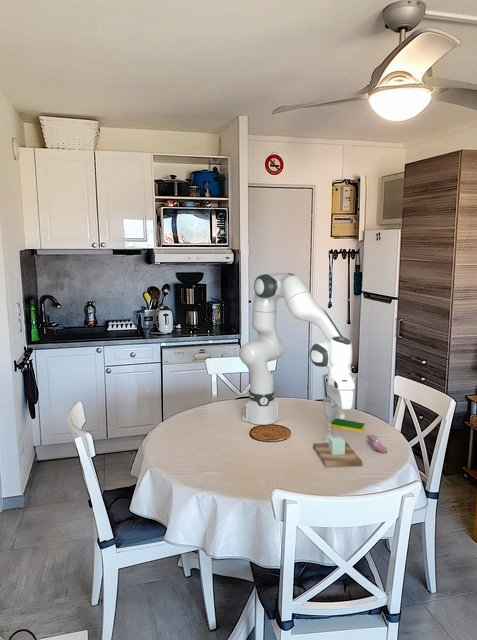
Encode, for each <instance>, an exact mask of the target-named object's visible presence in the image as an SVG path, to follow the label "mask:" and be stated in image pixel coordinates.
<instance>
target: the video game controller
mask: <svg viewBox="0 0 477 640" xmlns="http://www.w3.org/2000/svg"><path fill="white" fill-rule="evenodd" d="M366 441H367V442H369V444H370V445H371V448H373V450H374V451H375V452H380V453H382V454H387V452H388V448H387V447H385V445H383V444H382V443H381V442H380V441H379V439H378V437H377V436H376V435H375V434H372V433H371V434H368V435H366Z"/></svg>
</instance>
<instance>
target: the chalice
mask: <svg viewBox="0 0 477 640" xmlns="http://www.w3.org/2000/svg"><path fill="white" fill-rule="evenodd" d="M322 402H323V414H324V417H325V418H326V419H325V420H326V421H328V424H327V427H328V428H327V431H328V432H327V434H325V436H324V438H323V439H322V441H323V442H324V443H329V437H335V436H334V435H333V434H332V427H331V426H332V425H331V422H332V421H333V420H334V419H335V418H336V416H337V413H338V408H339V406H338V405H337V404H336V405H337V410H333V409H332V408H331V406H332V405H331V398H330V397H329V396H327V397H323V398H322Z"/></svg>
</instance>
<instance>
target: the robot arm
mask: <svg viewBox="0 0 477 640" xmlns="http://www.w3.org/2000/svg"><path fill="white" fill-rule="evenodd" d="M253 290H254V296H253V302H252V312H251V313H252V314H251V316H252V318H251V327H252V328H253V329H254V331H256V332H257V336H258V339H256V340H251V341H248V342H247V343H244V344H243V345H241V347H240V348H239V351H238V352H239V353H238V354H239V355H238V356H239V359H240V360H241V362H242V364H244V365H245V367H247V369H248V374H249V381H250V382H249V384H250V387H249V388H250V389H249V393H248V399H247V402H246V403H245V402H244V403H243V413H242V415H241V416H242V417H241V421H242V422H248V423H250V424H254V425H260V426H261V425H265V426H266V425H272V424H274V423H276V422H277V421H280V420H282V417H281V416H280V415H279V414H278V413H279V411H278V402H277V401H276V400H275V396H276V395H275V390H274V387H275V386H274V385H275V382H274V381H275V380H274V379H275V378H274V374H273V373H272V372H271V371H270V370H269V369H268V363H269V362H273V361H276V360H277V359H279V358H281V357H282V356H283V355H284V353H285V351H286V350H285V349H286V348H285V344H284V342H283V340H282V339H280V337H279V335H278V331H277V309H278V307H277V305H278V300H279V299H280V298H281V299H282V298H283V300H284V303H285V305H286V307H287V309H288V310H289V313H290V314H291V315H292V316H293V317H294V318H295V319H297V320H299V321H303V322H307V323H310V324H313V325H315V326H316V327H318V328H319V329H320V330H321V332H322V334H323V335H324V337H325V339H326V341H325V340H324V341H321V342H317V343H314V344H313V345H312V346H311V348H310V350H309V358H310V361H311V363H312V364H313V365H314V366H316V367H319V368H320V367H321V368H327V384H326V394H327V397H330V398H331V405H332V406H331V408H332V409H333V410H337V411H338V408H339V413H338V417H339V419H343V420H345V417H346V413H347V411H351V410H352V408H353V402H354V401H353V400H354V390H355V388H356V387H355V383H354V381H353V377H352V363H353V345H352V341H351V340H350V339H349V338H347V337H344V336H343V335H342V334H341V332H340V330H339V329H338V327H337V326H336V324H335V323H334V321H333V320H332V318H331V317H330V315H329V314H328V312H327V311H326V310H325V308H322V307H321V306H320V305H319V304H318V303H317V301H316V300H315V298H314V296H312V294H311V291H310V290H309V288H308V286H307V285H306V283H305V282H304V280H303V279H302V277H300V276H299V275H296V274H294V273H291V272H290V273H289V272H287V273H286V272H285V273H284V272H275V273H274V272H273V273H265V274H264V273H263V274H260V275H259V276H257V277H256V278H255V280H254V283H253ZM336 404H337V405H338V408H337V405H336Z"/></svg>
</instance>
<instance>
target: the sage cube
mask: <svg viewBox="0 0 477 640" xmlns="http://www.w3.org/2000/svg"><path fill="white" fill-rule="evenodd" d="M345 442H346V441H345V440H344V438H343V437H341V436H334V437H329V448H328V449H329V451H330V452H331V454H332V455H337V454H345Z"/></svg>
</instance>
